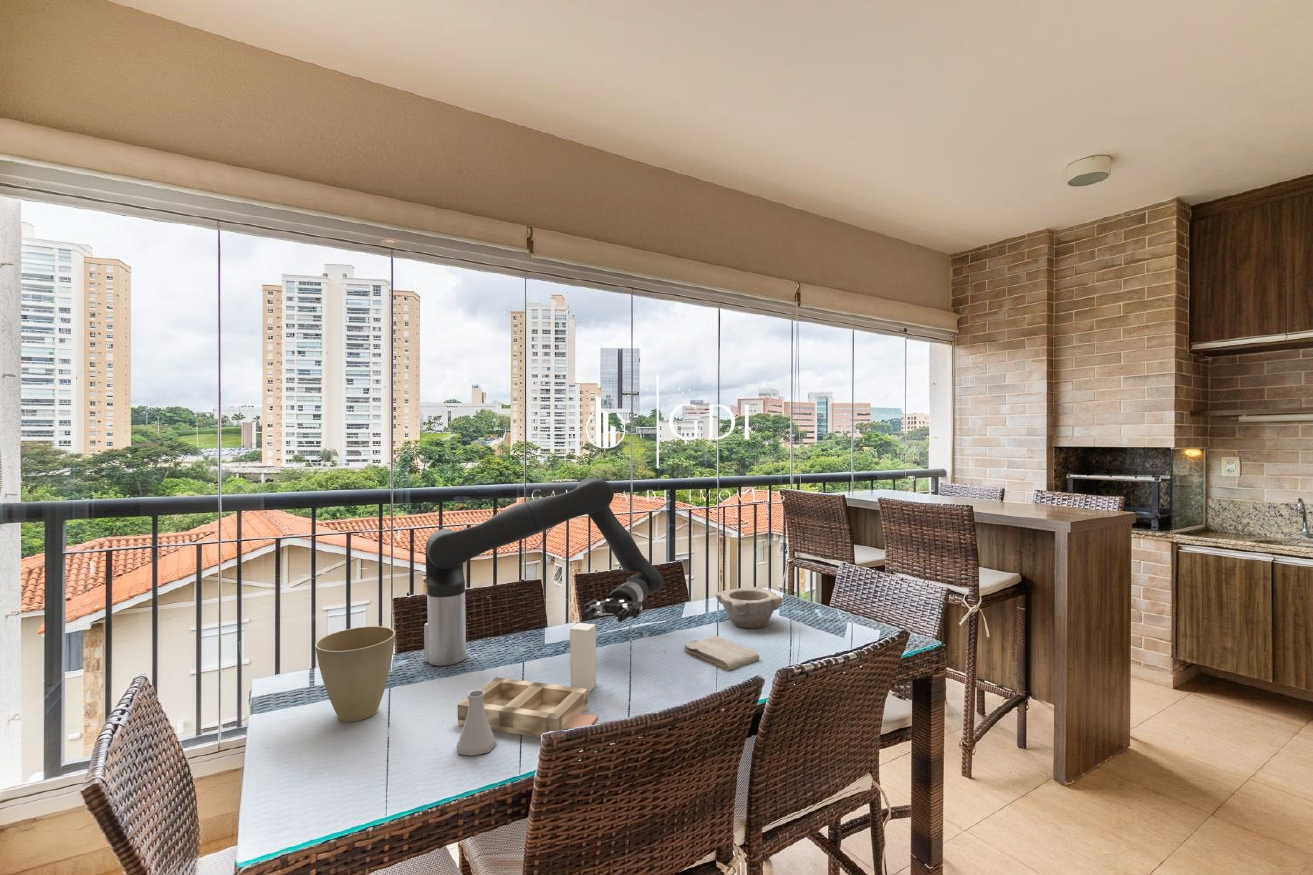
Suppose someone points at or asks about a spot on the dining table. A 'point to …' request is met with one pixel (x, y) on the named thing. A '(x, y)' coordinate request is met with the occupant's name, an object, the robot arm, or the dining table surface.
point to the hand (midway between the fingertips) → (602, 616)
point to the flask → (476, 728)
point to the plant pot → (356, 669)
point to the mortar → (749, 606)
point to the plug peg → (583, 656)
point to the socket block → (531, 707)
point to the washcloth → (721, 653)
